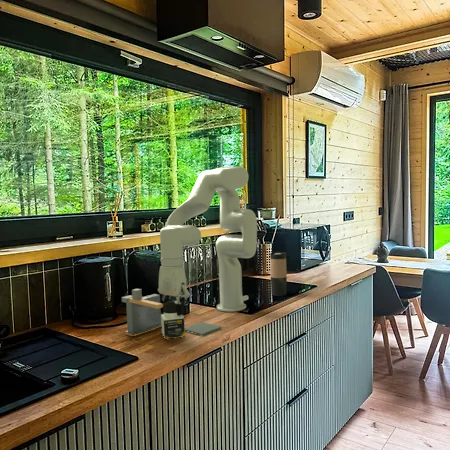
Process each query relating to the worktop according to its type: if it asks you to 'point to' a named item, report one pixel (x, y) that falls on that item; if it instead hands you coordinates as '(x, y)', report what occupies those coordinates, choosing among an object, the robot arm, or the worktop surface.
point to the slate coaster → (202, 328)
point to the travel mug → (278, 273)
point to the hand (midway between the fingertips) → (174, 312)
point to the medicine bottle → (172, 321)
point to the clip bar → (140, 299)
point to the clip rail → (143, 316)
